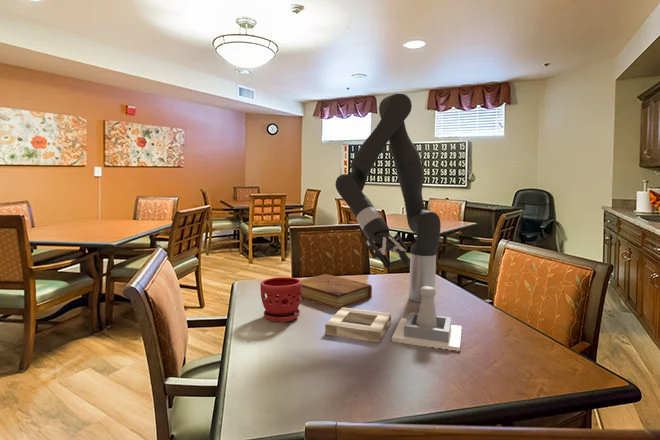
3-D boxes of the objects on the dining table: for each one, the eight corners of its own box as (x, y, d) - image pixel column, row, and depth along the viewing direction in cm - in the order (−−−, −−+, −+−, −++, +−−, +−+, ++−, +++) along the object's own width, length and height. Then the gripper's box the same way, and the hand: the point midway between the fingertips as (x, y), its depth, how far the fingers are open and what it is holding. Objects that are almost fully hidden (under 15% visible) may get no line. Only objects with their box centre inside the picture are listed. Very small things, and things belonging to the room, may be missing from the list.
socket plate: (401, 321, 127) (401, 308, 127) (461, 329, 121) (462, 316, 121) (391, 341, 112) (392, 326, 112) (459, 351, 106) (460, 336, 106)
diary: (371, 299, 152) (372, 284, 151) (338, 311, 138) (339, 295, 138) (326, 286, 167) (327, 273, 167) (293, 296, 154) (293, 281, 153)
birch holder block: (342, 316, 132) (342, 307, 131) (390, 322, 126) (391, 313, 126) (325, 334, 117) (325, 324, 116) (379, 342, 111) (379, 332, 111)
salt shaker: (436, 336, 114) (439, 290, 112) (416, 334, 115) (417, 289, 113) (436, 328, 119) (437, 285, 118) (416, 326, 120) (417, 283, 119)
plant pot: (308, 314, 133) (309, 278, 132) (288, 327, 122) (288, 288, 120) (275, 308, 139) (275, 273, 138) (252, 320, 127) (251, 283, 126)
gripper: (362, 218, 124) (390, 261, 117) (393, 215, 133) (420, 255, 126) (350, 233, 128) (376, 275, 121) (381, 229, 138) (406, 268, 130)
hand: (399, 265), depth 123 cm, fingers open, 8 cm apart
